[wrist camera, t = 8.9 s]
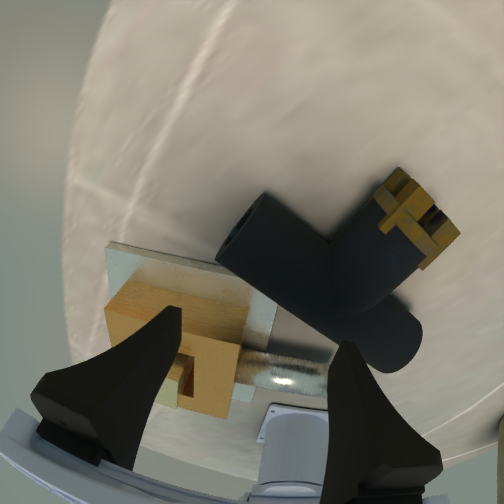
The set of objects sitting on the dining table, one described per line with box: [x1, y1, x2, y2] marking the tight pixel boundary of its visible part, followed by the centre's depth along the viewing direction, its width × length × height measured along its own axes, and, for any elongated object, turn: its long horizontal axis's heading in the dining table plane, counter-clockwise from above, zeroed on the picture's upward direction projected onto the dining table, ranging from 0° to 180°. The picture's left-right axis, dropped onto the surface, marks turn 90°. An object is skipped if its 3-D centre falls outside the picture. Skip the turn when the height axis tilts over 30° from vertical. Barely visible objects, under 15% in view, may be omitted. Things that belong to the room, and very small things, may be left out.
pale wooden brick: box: [154, 352, 195, 409], centre depth 24 cm, size 4×2×7 cm, turn 168°
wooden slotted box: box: [104, 242, 331, 419], centre depth 24 cm, size 15×20×5 cm
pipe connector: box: [215, 167, 461, 373], centre depth 19 cm, size 12×5×15 cm
